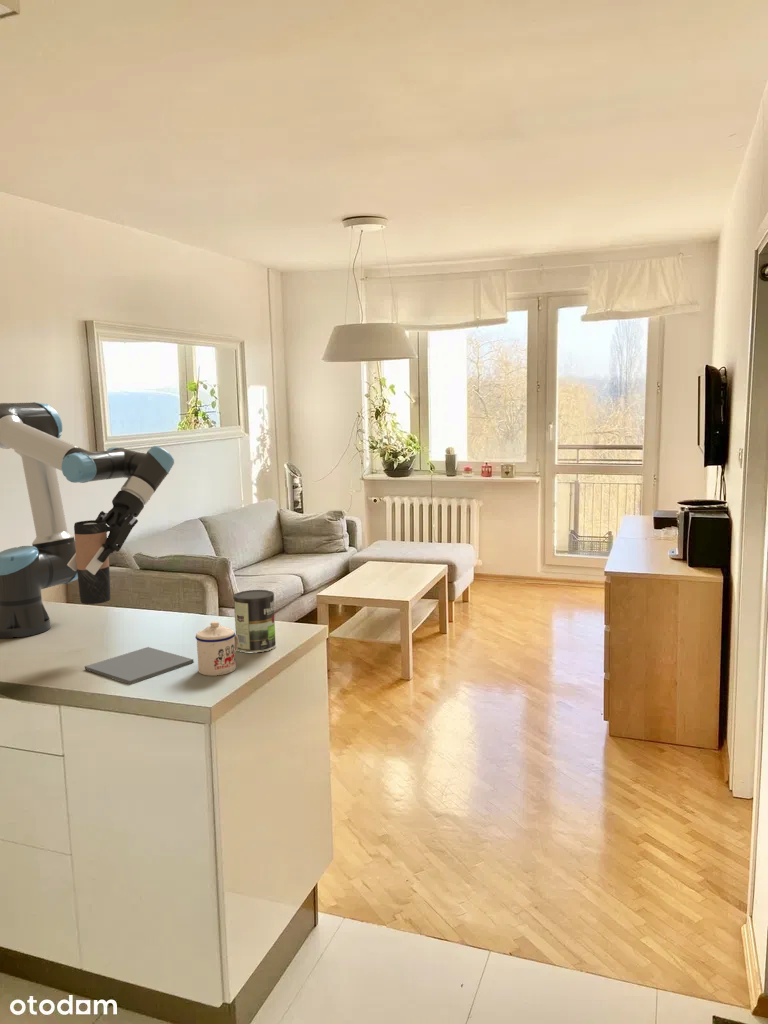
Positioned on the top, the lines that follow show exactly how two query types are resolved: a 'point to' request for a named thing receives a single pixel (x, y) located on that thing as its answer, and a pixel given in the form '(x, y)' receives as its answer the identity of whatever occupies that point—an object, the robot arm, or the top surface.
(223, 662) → the teacup with lid
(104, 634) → the top surface
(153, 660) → the pad
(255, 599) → the coffee can
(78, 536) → the travel mug
